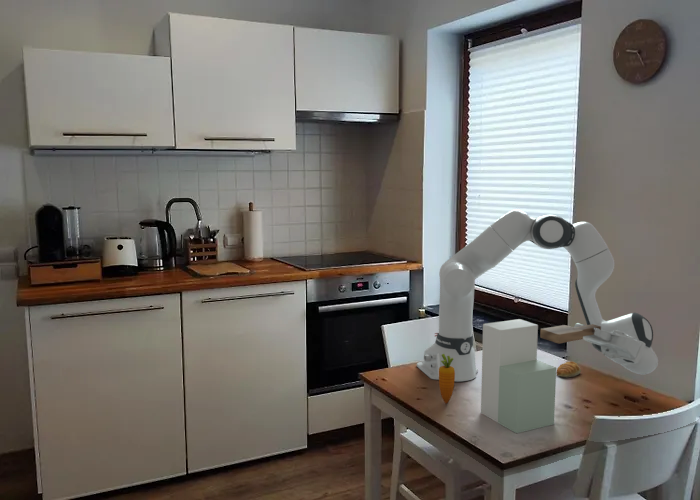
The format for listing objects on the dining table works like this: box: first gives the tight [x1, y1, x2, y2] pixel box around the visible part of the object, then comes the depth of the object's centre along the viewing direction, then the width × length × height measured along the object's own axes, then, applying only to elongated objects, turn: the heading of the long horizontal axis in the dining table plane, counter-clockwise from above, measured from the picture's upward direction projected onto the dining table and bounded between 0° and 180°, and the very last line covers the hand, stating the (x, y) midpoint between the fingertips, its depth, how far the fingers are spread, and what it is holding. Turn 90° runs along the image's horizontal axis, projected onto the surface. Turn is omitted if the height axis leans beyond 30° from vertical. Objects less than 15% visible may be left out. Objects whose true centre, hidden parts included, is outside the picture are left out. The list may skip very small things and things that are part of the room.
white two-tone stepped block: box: [480, 318, 557, 434], centre depth 165 cm, size 15×13×26 cm
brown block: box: [539, 324, 601, 344], centre depth 170 cm, size 7×18×2 cm, turn 115°
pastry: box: [556, 361, 582, 379], centre depth 203 cm, size 9×7×4 cm
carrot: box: [438, 354, 455, 405], centre depth 177 cm, size 5×5×15 cm
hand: (588, 328), depth 173 cm, fingers closed on brown block, 3 cm apart
